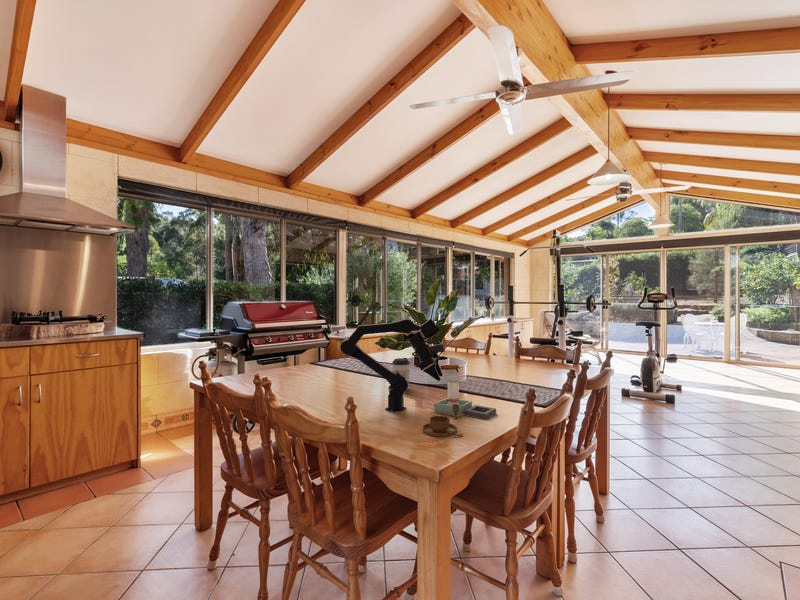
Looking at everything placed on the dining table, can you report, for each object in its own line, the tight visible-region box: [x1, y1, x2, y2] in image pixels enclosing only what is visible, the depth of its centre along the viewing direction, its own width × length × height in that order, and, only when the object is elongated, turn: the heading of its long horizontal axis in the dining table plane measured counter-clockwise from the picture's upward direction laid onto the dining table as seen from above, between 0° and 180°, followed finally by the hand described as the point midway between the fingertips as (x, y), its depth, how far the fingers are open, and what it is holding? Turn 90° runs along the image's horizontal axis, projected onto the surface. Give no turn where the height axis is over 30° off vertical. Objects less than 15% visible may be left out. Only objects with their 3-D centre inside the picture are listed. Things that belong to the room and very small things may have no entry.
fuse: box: [446, 375, 460, 406], centre depth 162 cm, size 5×5×13 cm
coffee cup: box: [391, 357, 411, 390], centre depth 200 cm, size 9×9×15 cm
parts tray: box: [433, 397, 473, 418], centre depth 162 cm, size 11×11×4 cm
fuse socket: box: [464, 404, 497, 420], centre depth 157 cm, size 9×9×2 cm
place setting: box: [422, 404, 463, 440], centre depth 141 cm, size 18×20×6 cm
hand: (440, 378), depth 162 cm, fingers open, 9 cm apart
